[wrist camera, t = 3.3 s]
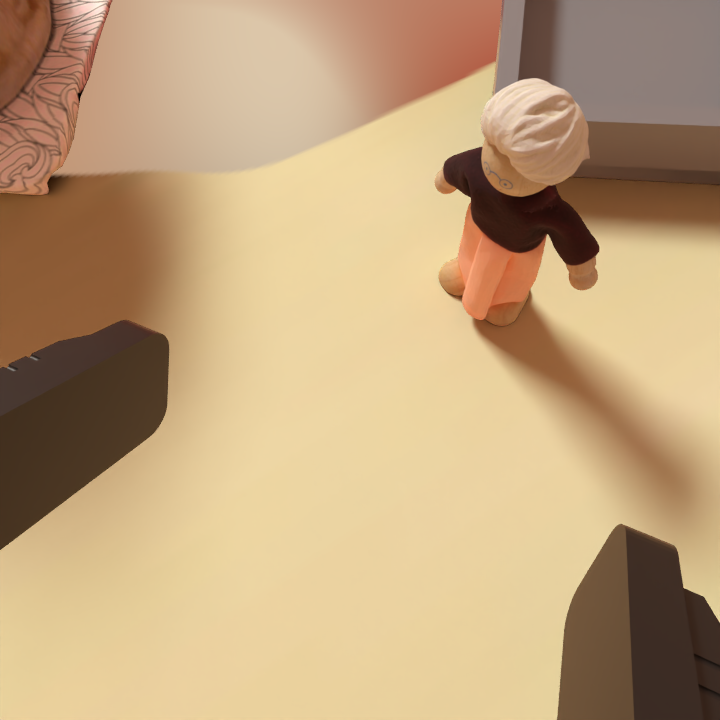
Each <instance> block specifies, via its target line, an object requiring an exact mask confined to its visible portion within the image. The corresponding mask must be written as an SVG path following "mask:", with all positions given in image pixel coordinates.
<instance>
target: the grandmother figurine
mask: <svg viewBox="0 0 720 720" xmlns="http://www.w3.org/2000/svg"><path fill="white" fill-rule="evenodd" d="M481 129H482V132H483V135H484V137H485V141H484V144H483V147H479V148H476V149H472V150H468V151H466V152H463V153H460V154H457V155H454V156H452V157H450V158H449V159H447V160H446V161H445V163H444V167H443V168H442V170H441V171H440V172H438V174H437V175H436V178H435V186H436V188H437V189H438V191H439V192H441V193H443V194H449V193H452V192H454V191H455V190H456V189H458V190H460V191H461V192H462V193H464V194H465V195H467V196H469V197H471V203H470V204H469V206H468V210H467V214H466V218H465V225H464V230H463V235H462V239H461V243H460V247H459V253H458V258H455V259H453V260H450V261H449V262H447V263H445V264H444V265H443V266H442V268H441V269H440V272H439V281H440V283H441V285H442V286H443V288H444V289H445V290H446V291H447V292H448V293H450V294H453V295H458V296H460V295H463V299H462V303H463V306H464V308H465V310H466V311H467V313H468V314H469V315H471V316H472V317H474V318H476V319H478V320H483V319H486V320H487V321H489V322H490V323H492V324H494V325H497V326H505V325H509V324H511V323H512V322H514V321H515V320H516V318H517V317H518V315H519V313H520V312H521V310H522V308H523V306H524V304H525V302H526V300H527V299H528V296H529V293H530V288H531V287H532V285H533V283H534V282H535V280H536V277H537V274H538V270H539V267H540V264H541V259H542V255H543V251H544V246H545V241H546V236H547V234H548V235H549V236H550V238H551V241H552V243H553V246H554V248H555V249H556V251H557V253H558V254H559V256H560V257H561V258H562V259H563V261H564V262H565V263H566V266H567V269H568V271H569V281H570V283H571V285H572V286H573V287H574V288H576V289H578V290H587V289H589V288H591V287H592V286H594V285H595V283H596V281H597V279H598V274H597V270H596V269H595V265H596V257H595V256H596V255H597V253H598V252H599V245H598V243H597V241H596V240H595V238H594V237H593V236H592V235H591V233H590V231H589V230H588V229H587V227H586V225H585V224H584V222H583V221H582V219H581V217H580V216H579V215H578V213H577V212H576V211H575V210H574V209H573V208H572V207H571V206H570V205H569V204H568V203H567V202H565V201H563V200H562V199H561V197H560V196H559V194H558V192H557V189H556V185H555V184H557V183H560V182H563V181H564V180H566V179H567V178H569V177H570V176H572V175H573V174H574V173H575V171H576V170H577V168H578V167H579V166H580V164H581V162H582V161H583V160H585V159H587V158H588V159H589V158H590V155H589V146H588V134H589V129H588V124H587V122H586V120H585V117H584V115H583V113H582V110H581V109H580V107H579V105H578V104H577V103H576V102H575V101H574V100H573V98H572V96H571V95H570V94H569V93H568V92H567V91H566V90H564V89H562V88H559V87H556V86H553V85H551V84H550V83H549V82H547V81H544V80H541V79H538V78H531V79H524V80H520V81H518V82H515V83H513V84H511V85H509V86H507V87H505V88H503V89H502V90H500V91H499V92H497V93H496V94H495V95H494V96H493V97H492V98H491V99H490V100H489V101H488V102H487V104H486V105H485V107H484V111H483V114H482V117H481Z"/></svg>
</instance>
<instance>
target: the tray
mask: <svg viewBox="0 0 720 720" xmlns="http://www.w3.org/2000/svg"><path fill="white" fill-rule="evenodd" d="M531 78H538V79H541V80H544V81H547V82H549V83H550V84H551V85H553V86H556V87H559V88H562V89H564V90H566V91H567V92H568V93H569V94H570V95H571V96H572V98H573V100H574V101H575V102H576V103H577V104H578V105H579V107H580V109H581V110H582V113H583V115H584V117H585V120H586V122H587V124H588V129H589V134H588V146H589V155H590V158H589V159H588V158H587V159H585V160H583V161H582V162H581V164H580V166H579V167H578V168H577V170H576V171H575V173H574V174H573V175H572V176H570V177H587V178H605V179H624V180H643V181H661V182H680V183H698V184H717V185H720V0H503V1H502V11H501V20H500V31H499V40H498V49H497V59H496V68H495V78H494V87H493V96H494V95H495V94H496V93H497V92H499V91H500V90H502V89H503V88H505V87H507V86H509V85H511V84H513V83H515V82H518V81H520V80H524V79H531Z"/></svg>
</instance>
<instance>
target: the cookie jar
mask: <svg viewBox="0 0 720 720" xmlns="http://www.w3.org/2000/svg"><path fill="white" fill-rule="evenodd" d="M111 2H112V0H0V193H15V194H29V195H44V194H47V193H48V191H49V188H48V185H47V182H48V180H49V178H50V176H51V175H52V173H53V172H55V171H56V170H57V169H59V168H60V167H62V165H63V163H64V161H65V159H66V157H67V155H68V153H69V150H70V147H71V144H72V141H73V139H74V133H75V127H76V120H77V114H78V108H79V102H80V97H81V94H82V92H83V90H84V87H85V85H86V83H87V81H88V78H89V76H90V72H91V68H92V64H93V60H94V56H95V52H96V49H97V45H98V41H99V37H100V35H101V31H102V28H103V25H104V23H105V20H106V17H107V15H108V12H109V8H110V4H111Z"/></svg>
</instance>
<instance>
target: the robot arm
mask: <svg viewBox="0 0 720 720" xmlns="http://www.w3.org/2000/svg"><path fill="white" fill-rule="evenodd" d="M168 366H169V343H168V340H167V338H166V337H165V336H164V335H163V334H160V333H158V332H155V331H153V330H151V329H148V328H146V327H143V326H141V325H138V324H136V323H133V322H131V321H128V320H123V321H119V322H117V323H115V324H113V325H111V326H109V327H106V328H104V329H102V330H100V331H98V332H96V333H94V334H92V335H87V336H82V337H77V338H73V339H68V340H63V341H58V342H56V343H54V344H52V345H50V346H48V347H45V348H43V349H41V350H39V351H37V352H34V353H32V354H31V357H30V358H28V357H24V358H21V359H19V360H17V361H15V362H13V363H10V364H9V366H8V367H7V368H4V367H2V368H0V550H1V549H2V548H4V547H5V546H6V545H8V544H9V543H10V542H11V541H13V540H14V539H15V538H17V537H18V536H19V535H21V534H22V533H23V532H25V531H26V530H27V529H29V528H30V527H31V526H33V525H34V524H35V523H37V522H38V521H39V520H41V519H42V518H43V517H44V516H46V515H47V514H48V513H50V512H51V511H52V510H54V509H55V508H56V507H58V506H59V505H60V504H62V503H63V502H64V501H66V500H67V499H68V498H70V497H71V496H72V495H73V494H75V493H76V492H77V491H79V490H80V489H81V488H83V487H84V486H85V485H87V484H88V483H89V482H91V481H92V480H93V479H95V478H96V477H97V476H99V475H100V474H101V473H103V472H104V471H105V470H106V469H108V468H109V467H110V466H112V465H113V464H114V463H116V462H117V461H118V460H120V459H121V458H122V457H124V456H125V455H126V454H128V453H129V452H130V451H132V450H133V449H134V448H136V447H137V446H138V445H139V444H141V443H142V442H143V441H145V440H146V439H147V438H149V437H150V436H151V435H152V434H153V433H154V432H155V431H156V430H157V428H158V427H159V425H160V424H161V422H162V420H163V418H164V416H165V412H166V408H167V394H168ZM557 720H720V623H719V621H718V619H717V618H716V616H715V615H714V613H713V611H712V610H711V608H710V606H709V605H708V603H707V601H706V600H705V598H704V597H703V596H701V595H698V594H696V593H694V592H691V591H689V590H687V589H684V588H683V583H682V576H681V570H680V563H679V557H678V552H677V549H676V547H675V546H674V545H672V544H669V543H667V542H664V541H662V540H659V539H657V538H655V537H652V536H650V535H647V534H645V533H642V532H640V531H637V530H635V529H633V528H630V527H628V526H625V525H623V524H619V525H617V526H616V527H615V528H614V530H613V531H612V532H611V534H610V535H609V537H608V539H607V540H606V542H605V544H604V545H603V547H602V549H601V550H600V552H599V554H598V555H597V557H596V559H595V560H594V562H593V564H592V565H591V567H590V568H589V570H588V572H587V573H586V575H585V577H584V578H583V580H582V582H581V583H580V585H579V587H578V588H577V590H576V592H575V594H574V596H573V599H572V601H571V604H570V607H569V610H568V614H567V618H566V622H565V629H564V640H563V653H562V666H561V679H560V692H559V705H558V717H557Z"/></svg>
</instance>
